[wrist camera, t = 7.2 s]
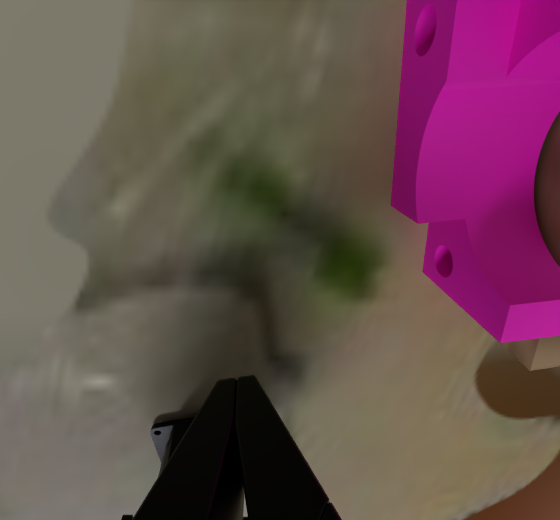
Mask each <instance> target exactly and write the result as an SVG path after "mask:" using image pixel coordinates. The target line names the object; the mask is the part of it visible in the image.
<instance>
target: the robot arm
mask: <svg viewBox="0 0 560 520" xmlns="http://www.w3.org/2000/svg"><path fill="white" fill-rule="evenodd" d="M158 430H159V431H158ZM150 433H151V436H152V439H153V442H154V444H155V447H156V450H157V452H158V455H159V458H160V460H161V467H160V472H159V476H158V478H157V480H156V482H155V483H154V485H153V487H152V488H151V490H150V492H149V493H148V495H147V496H146V498H145V500H144V501H143V503H142V505H141V506H140V508H139V509H138V511H137V513H136V514H135V516H134V517H133V515H123V516H122V519H121V520H342V519H341V517H340V516H339V514H338V512H337V511H336V509H335V508H334V506H333V504H332V503H329V498H328V496H327V495H326V493H325V491H324V490H323V488H322V486H321V485H320V483H319V481H318V480H317V478H316V476H315V475H314V473H313V471H312V470H311V468H310V466H309V465H308V463H307V461H306V460H305V458H304V456H303V455H302V453H301V451H300V450H299V448H298V446H297V445H296V443H295V441H294V440H293V438H292V436H291V435H290V433H289V431H288V430H287V428H286V426H285V425H284V423H283V421H282V420H281V418H280V416H279V415H278V413H277V411H276V410H275V408H274V406H273V405H272V403H271V401H270V400H269V398H268V396H267V395H266V393H265V391H264V390H263V388H262V386H261V385H260V383H259V381H258V380H257V378H256V377H255V376H254V375H250V376H242V377H238V378H237V380H236V379H235V378H227V379H220V380H218V381H217V383H216V384H215V386H214V387H213V389H212V391H211V392H210V394H209V396H208V397H207V399H206V400H205V402H204V404H203V405H202V407H201V409H200V410H199V412H198V413H197V415H196V417H194V418H188V419H182V420H175V421H169V422H163V423H157V424H154V425H153V426H152V428H151V432H150ZM244 493H245V500H246V506H247V513H248V517H243V507H244Z"/></svg>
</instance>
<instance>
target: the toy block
mask: <svg viewBox="0 0 560 520" xmlns="http://www.w3.org/2000/svg"><path fill="white" fill-rule="evenodd" d="M559 111H560V0H407V6H406V19H405V32H404V44H403V57H402V70H401V82H400V95H399V108H398V120H397V133H396V146H395V158H394V171H393V183H392V196H391V206H392V207H394V208H395V209H397V210H398V211H400V212H401V213H403V214H404V215H406V216H407V217H409V218H410V219H412V220H413V221H415V222H416V223H428V222H429V225H428V233H427V241H426V248H425V256H424V264H423V271H422V272H423V273H424V274H425V275H426V276H428V277H429V278H430V279H431V280H432V281H433V282H434V283H435V284H436V285H437V286H438V287H440V288H441V289H442V290H443V291H444V292H445V293H446V294H447V295H448V296H449V297H451V298H452V299H453V300H454V301H455V302H456V303H457V304H458V305H459V306H460V307H461V308H463V309H464V310H465V311H466V312H467V313H468V314H469V315H470V316H471V317H472V318H474V319H475V320H476V321H477V322H478V323H479V324H480V325H481V326H482V327H483V328H484V329H486V330H487V331H488V332H489V333H490V334H491V335H492V336H493V337H494V338H495V339H496V340H498V341H499V342H500V343H504V342H512V341H520V340H528V339H537V338H545V337H553V336H560V267H559V266H558V265H557V263H556V262H555V261H554V259H553V257H552V256H551V254H550V253H549V251H548V249H547V247H546V245H545V243H544V241H543V238H542V236H541V233H540V230H539V227H538V223H537V219H536V214H535V206H534V179H535V172H536V166H537V162H538V158H539V154H540V151H541V148H542V145H543V142H544V140H545V138H546V135H547V133H548V131H549V129H550V127H551V125H552V123H553V121H554V119H555V118H556V116H557V115H558V113H559Z"/></svg>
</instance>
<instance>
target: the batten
mask: <svg viewBox="0 0 560 520" xmlns="http://www.w3.org/2000/svg"><path fill="white" fill-rule="evenodd" d="M534 206H535V214H536V219H537V223H538V227H539V230H540V233H541V236H542V238H543V241H544V243H545V245H546V247H547V249H548V251H549V253H550V254H551V256H552V257H553V259H554V261H555V262H556V263H557V265H558V266H559V267H560V111H559V113H558V115H557V116H556V118H555V119H554V121H553V123H552V125H551V127H550V129H549V131H548V133H547V135H546V138H545V140H544V142H543V145H542V148H541V151H540V154H539V158H538V162H537V166H536V172H535V179H534ZM485 330H486V329H485ZM486 331H487V330H486ZM487 332H488V331H487ZM497 341H498V340H497ZM498 342H499V341H498ZM499 343H500V342H499ZM501 344H502V345H503V346H504V347H505V348H506V349H507V350H508V351H509V352H510V353H512V354H513V355H514V356H515V357H516V358H517V359H518V360H519V361H520V362H521V363H523V365H525V366H526V367H527V368H528V369H529V370H530V371H532V370H538V369H544V368H550V367H557V366H560V336H553V337H545V338H537V339H528V340H520V341H512V342H504V343H501Z"/></svg>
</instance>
